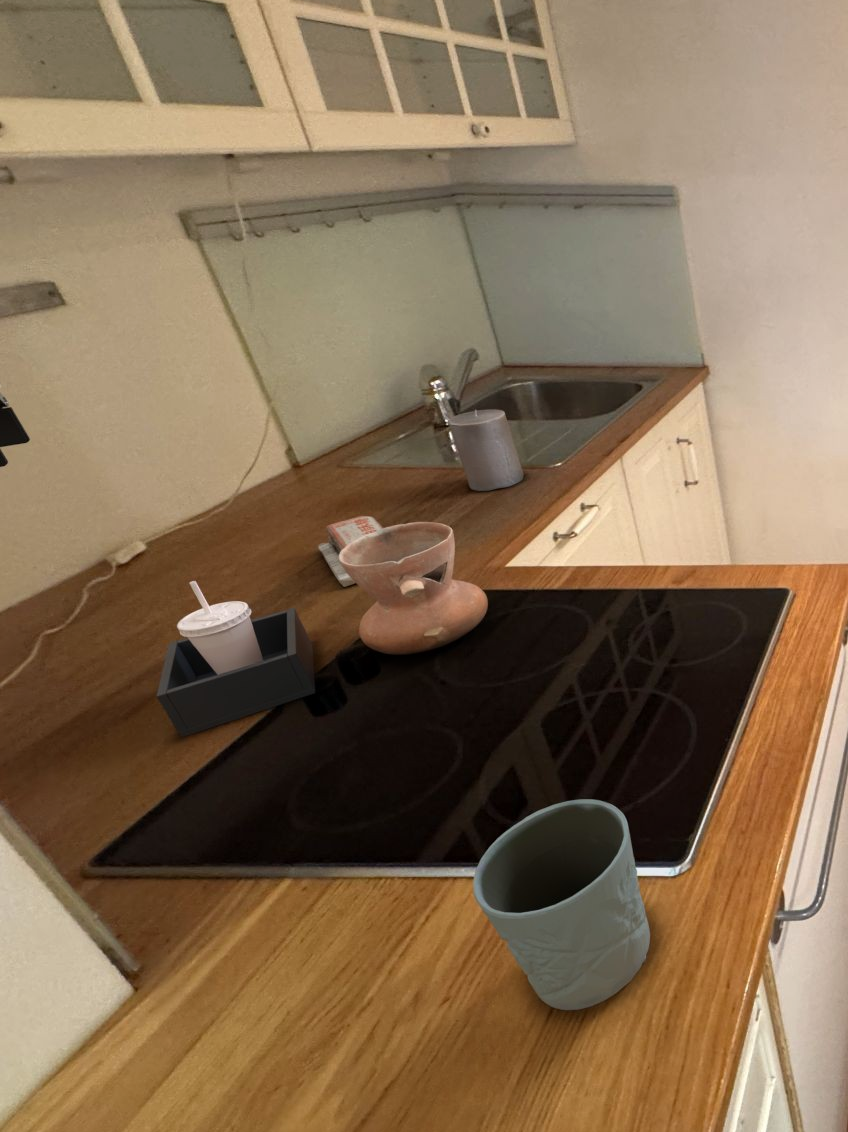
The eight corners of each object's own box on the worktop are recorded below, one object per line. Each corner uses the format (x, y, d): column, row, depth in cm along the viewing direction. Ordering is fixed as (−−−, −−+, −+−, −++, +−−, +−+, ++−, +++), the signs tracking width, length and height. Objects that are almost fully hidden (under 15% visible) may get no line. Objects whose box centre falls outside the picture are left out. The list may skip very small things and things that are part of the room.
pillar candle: (496, 471, 159) (474, 401, 152) (535, 475, 156) (514, 403, 150) (457, 489, 150) (432, 416, 144) (498, 493, 148) (474, 419, 141)
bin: (181, 737, 86) (156, 696, 83) (191, 681, 95) (168, 642, 93) (315, 693, 92) (296, 653, 90) (312, 644, 102) (294, 607, 100)
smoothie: (260, 662, 97) (210, 565, 91) (294, 671, 95) (245, 573, 89) (201, 692, 92) (143, 592, 86) (236, 703, 90) (179, 601, 84)
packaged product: (308, 527, 125) (380, 507, 131) (320, 553, 127) (390, 533, 133) (330, 561, 113) (408, 538, 120) (343, 589, 115) (418, 565, 122)
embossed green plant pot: (670, 895, 65) (640, 790, 60) (646, 1012, 56) (608, 901, 51) (545, 914, 64) (503, 808, 59) (499, 1037, 55) (445, 925, 50)
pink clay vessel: (504, 642, 101) (471, 547, 95) (372, 686, 93) (326, 585, 87) (482, 589, 114) (451, 502, 108) (364, 624, 106) (324, 532, 100)
